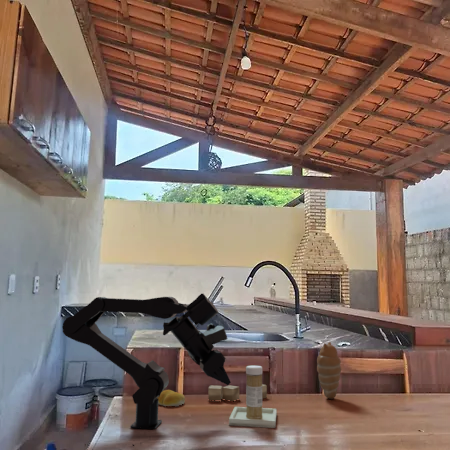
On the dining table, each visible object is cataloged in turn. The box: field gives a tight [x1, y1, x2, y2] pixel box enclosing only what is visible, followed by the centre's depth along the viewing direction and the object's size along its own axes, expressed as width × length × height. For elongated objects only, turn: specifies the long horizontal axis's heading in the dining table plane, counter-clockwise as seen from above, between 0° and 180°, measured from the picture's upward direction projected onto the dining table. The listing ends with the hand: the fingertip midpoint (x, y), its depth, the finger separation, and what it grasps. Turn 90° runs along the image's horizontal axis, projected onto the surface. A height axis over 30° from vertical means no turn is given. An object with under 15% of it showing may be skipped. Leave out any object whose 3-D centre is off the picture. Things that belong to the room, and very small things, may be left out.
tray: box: [228, 406, 278, 429], centre depth 111 cm, size 12×12×2 cm
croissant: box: [316, 341, 342, 400], centre depth 136 cm, size 9×8×18 cm
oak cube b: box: [222, 384, 240, 402], centre depth 132 cm, size 4×4×4 cm
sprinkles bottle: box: [245, 364, 263, 419], centre depth 111 cm, size 5×5×14 cm
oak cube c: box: [262, 383, 268, 399], centre depth 136 cm, size 4×4×4 cm
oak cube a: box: [207, 385, 223, 401], centre depth 132 cm, size 4×4×4 cm
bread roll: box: [158, 389, 186, 407], centre depth 127 cm, size 8×9×4 cm
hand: (224, 378), depth 111 cm, fingers open, 9 cm apart
